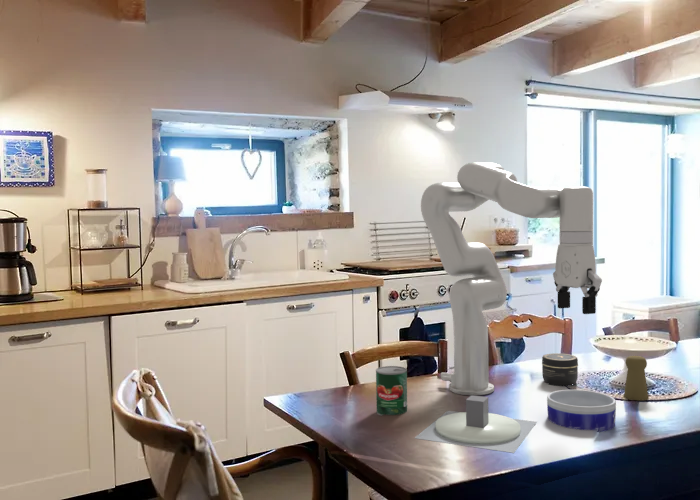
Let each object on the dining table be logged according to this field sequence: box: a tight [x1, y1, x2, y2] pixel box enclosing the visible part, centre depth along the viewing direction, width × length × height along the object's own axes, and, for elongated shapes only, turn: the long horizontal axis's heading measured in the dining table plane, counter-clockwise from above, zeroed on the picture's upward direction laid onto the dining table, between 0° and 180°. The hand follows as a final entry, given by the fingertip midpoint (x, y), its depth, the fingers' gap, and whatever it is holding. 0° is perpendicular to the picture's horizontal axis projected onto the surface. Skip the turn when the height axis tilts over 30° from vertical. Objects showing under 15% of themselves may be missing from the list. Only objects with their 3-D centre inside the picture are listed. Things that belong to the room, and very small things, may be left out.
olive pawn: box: [623, 355, 650, 401], centre depth 174 cm, size 6×6×11 cm
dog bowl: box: [546, 389, 617, 433], centre depth 155 cm, size 15×15×6 cm
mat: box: [414, 410, 538, 454], centre depth 150 cm, size 22×22×1 cm
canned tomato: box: [375, 365, 408, 417], centre depth 166 cm, size 8×8×11 cm
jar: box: [541, 352, 579, 387], centre depth 191 cm, size 10×10×8 cm
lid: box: [435, 395, 521, 444], centre depth 149 cm, size 19×19×7 cm
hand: (576, 310), depth 156 cm, fingers open, 9 cm apart
